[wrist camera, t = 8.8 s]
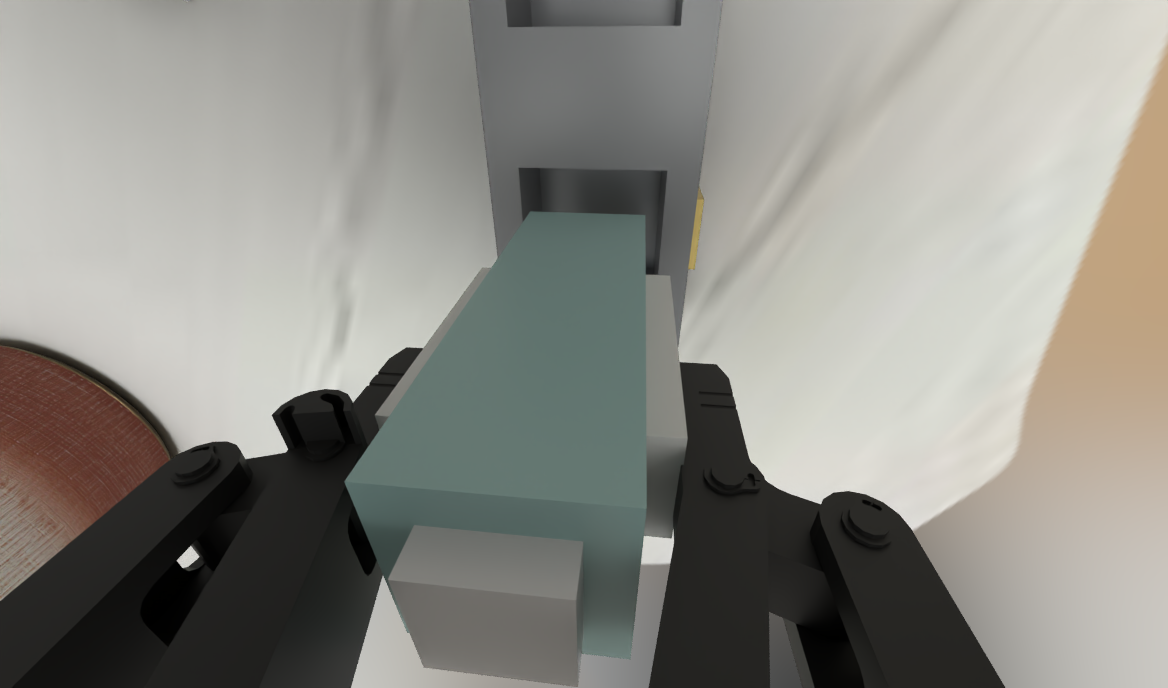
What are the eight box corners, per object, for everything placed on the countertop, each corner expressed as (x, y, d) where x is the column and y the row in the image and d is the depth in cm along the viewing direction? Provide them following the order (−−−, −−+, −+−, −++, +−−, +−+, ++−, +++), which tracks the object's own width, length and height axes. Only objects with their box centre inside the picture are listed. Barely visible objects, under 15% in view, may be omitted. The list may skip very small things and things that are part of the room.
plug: (530, 211, 16) (307, 534, 5) (645, 215, 16) (647, 569, 5) (536, 311, 18) (386, 683, 8) (638, 316, 18) (629, 715, 7)
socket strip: (491, -287, 15) (411, -460, 10) (750, -306, 15) (810, -503, 9) (533, 299, 27) (506, 361, 22) (676, 306, 27) (684, 371, 21)
